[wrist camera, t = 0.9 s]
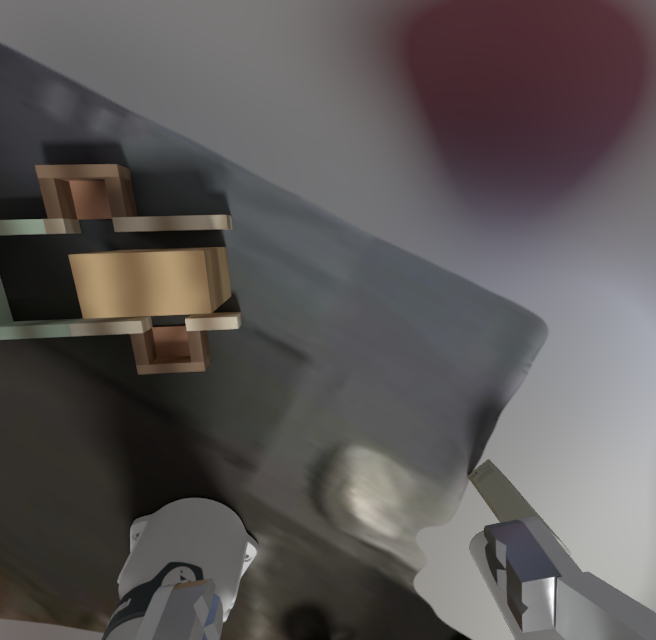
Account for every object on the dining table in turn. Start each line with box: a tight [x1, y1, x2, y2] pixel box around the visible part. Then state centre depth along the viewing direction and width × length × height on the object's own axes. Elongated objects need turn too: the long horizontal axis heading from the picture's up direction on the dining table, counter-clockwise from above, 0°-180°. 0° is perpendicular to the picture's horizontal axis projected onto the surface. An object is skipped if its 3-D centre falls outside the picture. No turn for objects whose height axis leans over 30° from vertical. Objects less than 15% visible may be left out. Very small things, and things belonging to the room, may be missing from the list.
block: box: [68, 247, 231, 319], centre depth 35 cm, size 12×6×9 cm, turn 91°
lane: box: [0, 164, 242, 375], centre depth 37 cm, size 27×23×2 cm
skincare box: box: [468, 460, 571, 556], centre depth 44 cm, size 6×4×12 cm
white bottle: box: [469, 531, 566, 640], centre depth 42 cm, size 7×7×25 cm
